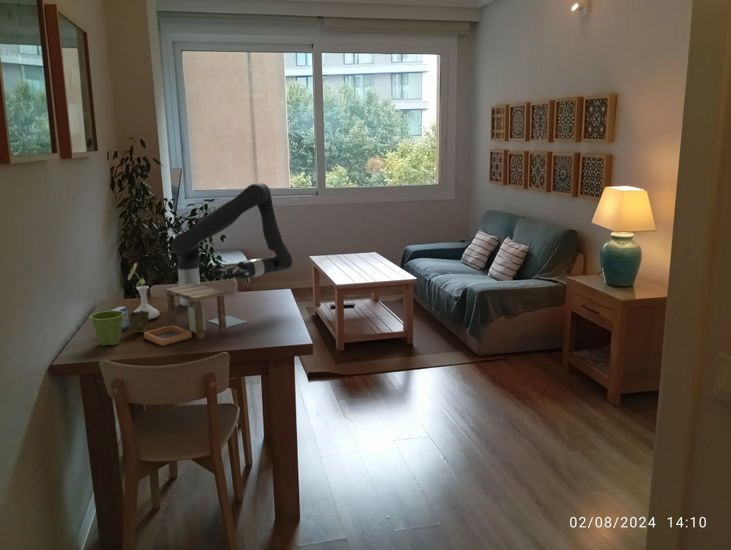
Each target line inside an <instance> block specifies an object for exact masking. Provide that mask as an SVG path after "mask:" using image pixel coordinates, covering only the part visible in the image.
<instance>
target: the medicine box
mask: <svg viewBox="0 0 731 550" xmlns="http://www.w3.org/2000/svg"><path fill="white" fill-rule="evenodd" d="M109 311H122V312H124V315H123V317H122V323H121V330H123V329H125V328H127V327H128V328H130V327H129V326H130V319H129V310H128V307H127V306H118V307H115V308H112V309H111V310H109ZM128 328H127V329H128ZM125 330H126V329H125ZM123 331H124V330H123Z"/></svg>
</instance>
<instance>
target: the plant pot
mask: <svg viewBox="0 0 731 550" xmlns="http://www.w3.org/2000/svg"><path fill="white" fill-rule="evenodd" d="M123 315H124V312H122V311H110V310H104V311H98V312H96V313H95V312H94V313H93V314H91V315H89V319H91V322H92V325H93V326H94V330H95V333H96V336H97V340H98V344H99V345H100V344H102V345H107V346H109V345H113V344H116V343H118V344H120V343H121V336H122V335H121V334H122V331H121V323H122V317H123ZM116 345H117V344H116ZM113 346H114V345H113Z"/></svg>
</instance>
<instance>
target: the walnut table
mask: <svg viewBox="0 0 731 550" xmlns="http://www.w3.org/2000/svg"><path fill="white" fill-rule="evenodd" d="M164 291H165V292H164V293H165V294H166V300H167V301H166V302H167V303H166V304H167V313H168V322H169V326H171V325H173V326H176V327H178V325H177V324H178V323H177V322H178V321H177V314H176V304H175V303H176V302H175V297H178V298H180V297H181V298H184V299H187V300H190V306H192V305H194V312H195V323H196V333H195V334H196V339H197V340H199V339H201V340H203V338H204V339H205V331H204V328H203V317H202V306H203V305H202V303H201V301H204V300H208V299H212V298H216V307H217V318H218V322H219V325H218V331H219V333H220V332H221V334H224V333H223V332H225V333H227V332H226V331H227V328H226V318H225V316H226V306H225V295H226V294H225V293H226V292H225V290H221V289H217V288H214V287H211V286H206V285H204V284H200V285H199V284H196V283H192V284H187V285H182V286H179V285H178V286H174V287H173V286H172V287H168V288H165V289H164Z"/></svg>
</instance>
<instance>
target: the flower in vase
mask: <svg viewBox="0 0 731 550" xmlns="http://www.w3.org/2000/svg"><path fill="white" fill-rule="evenodd" d="M137 266H138V263H137V262H135V263H134V264H133V267H132V268H131V269H130V273H129V274H128V275H127V279H126V280H128V281H130V280H131V279H132V277H133V275H134V274H135V275H136V277H137V278H138V282H137V283H136V286H135V287H136V290H137V291H138V292H139V295H140V304H139V306H138V308H136V309H135V310H134V311H133V312H135V313H136V312H138V313H139V312H140V311H144V312H145V311H146V312H147V311H148V312H149V314H148V321H149V320H152V319H155V318H158V317H159V316H160V311H159V310H158V309H156V308H154V307H153V306H151V305H150V304H149V303H148V298H147V293H148V289H150V287H149V286H148V285H145V284H146V281H145V279H144V278H143V277H141V278H140V277H139V275H138V273H137V272H136V269H137Z"/></svg>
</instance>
